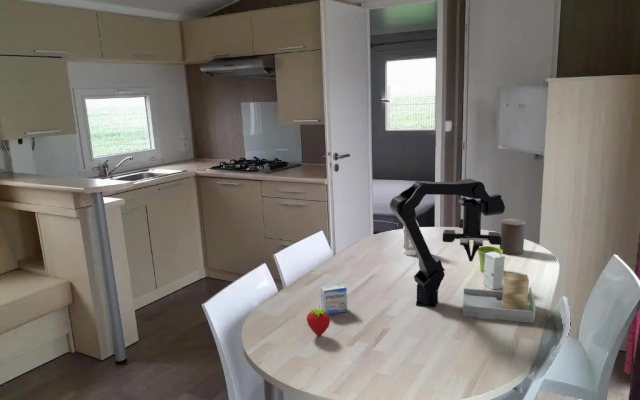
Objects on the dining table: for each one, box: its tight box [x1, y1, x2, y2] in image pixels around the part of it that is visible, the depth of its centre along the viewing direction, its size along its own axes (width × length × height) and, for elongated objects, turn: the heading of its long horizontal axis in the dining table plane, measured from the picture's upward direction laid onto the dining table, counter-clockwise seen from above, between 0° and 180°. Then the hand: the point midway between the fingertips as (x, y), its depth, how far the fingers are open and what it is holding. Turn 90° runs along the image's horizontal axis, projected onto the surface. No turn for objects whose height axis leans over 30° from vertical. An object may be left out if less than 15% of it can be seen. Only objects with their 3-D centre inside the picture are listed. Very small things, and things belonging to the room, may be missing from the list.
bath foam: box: [402, 219, 420, 256], centre depth 210 cm, size 7×7×20 cm
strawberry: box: [306, 305, 331, 337], centre depth 143 cm, size 6×8×10 cm
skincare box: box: [482, 252, 506, 290], centre depth 173 cm, size 6×4×12 cm
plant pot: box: [476, 245, 503, 273], centre depth 188 cm, size 9×9×9 cm
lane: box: [462, 286, 537, 324], centre depth 155 cm, size 21×14×6 cm, turn 73°
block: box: [502, 272, 530, 311], centre depth 153 cm, size 7×5×10 cm
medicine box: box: [320, 283, 348, 316], centre depth 159 cm, size 8×4×9 cm, turn 105°
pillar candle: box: [499, 218, 526, 256], centre depth 207 cm, size 10×10×15 cm
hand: (470, 261), depth 164 cm, fingers closed
